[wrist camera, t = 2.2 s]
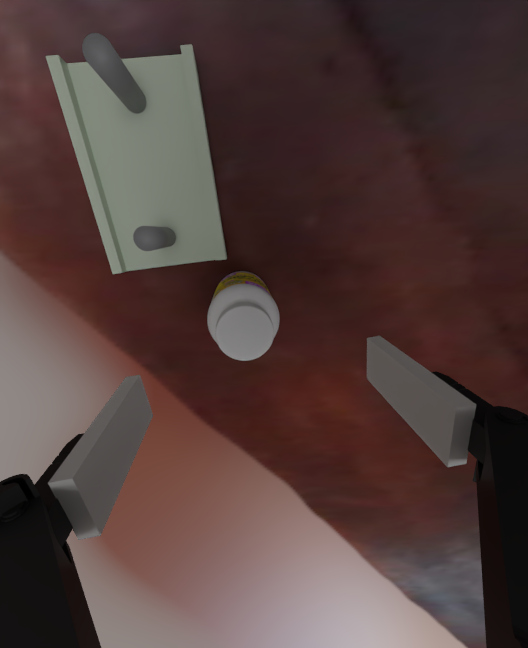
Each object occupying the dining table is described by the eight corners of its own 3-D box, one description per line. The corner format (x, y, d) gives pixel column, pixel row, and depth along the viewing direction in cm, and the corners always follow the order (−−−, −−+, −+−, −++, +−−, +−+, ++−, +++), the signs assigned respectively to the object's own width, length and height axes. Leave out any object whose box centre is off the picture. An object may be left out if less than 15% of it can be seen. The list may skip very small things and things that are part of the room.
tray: (65, 74, 24) (-17, -2, 17) (196, 63, 25) (178, -15, 17) (122, 270, 31) (83, 284, 23) (227, 257, 31) (224, 265, 23)
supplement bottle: (272, 274, 33) (295, 299, 21) (263, 325, 35) (279, 375, 23) (217, 266, 32) (206, 287, 20) (211, 318, 34) (199, 368, 22)
